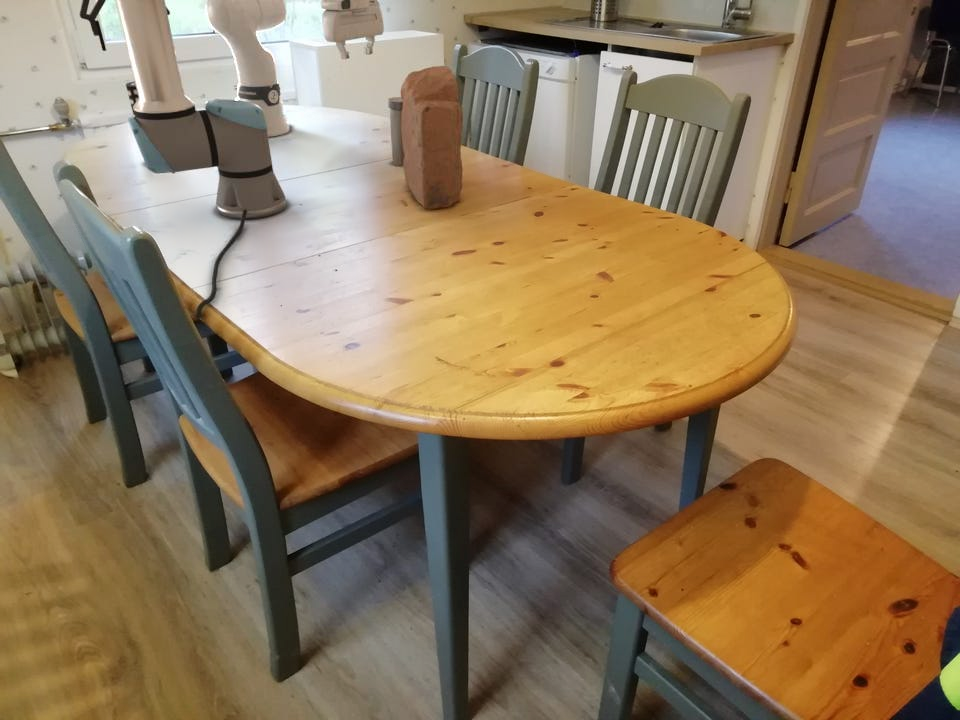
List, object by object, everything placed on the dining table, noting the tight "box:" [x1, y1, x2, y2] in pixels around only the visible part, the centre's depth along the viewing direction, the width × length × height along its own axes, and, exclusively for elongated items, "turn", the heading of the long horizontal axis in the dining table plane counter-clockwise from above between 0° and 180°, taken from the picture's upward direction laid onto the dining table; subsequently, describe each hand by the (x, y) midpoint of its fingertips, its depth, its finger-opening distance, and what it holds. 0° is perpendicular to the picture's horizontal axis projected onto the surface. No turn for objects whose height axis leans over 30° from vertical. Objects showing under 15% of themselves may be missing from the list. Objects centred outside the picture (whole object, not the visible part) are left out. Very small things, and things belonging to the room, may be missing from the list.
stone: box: [400, 65, 464, 210], centre depth 159 cm, size 22×11×28 cm, turn 18°
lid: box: [387, 96, 403, 110], centre depth 180 cm, size 6×6×2 cm
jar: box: [389, 108, 405, 167], centre depth 184 cm, size 5×5×16 cm
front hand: (133, 48), depth 174 cm, fingers open, 13 cm apart
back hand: (357, 56), depth 190 cm, fingers open, 8 cm apart
